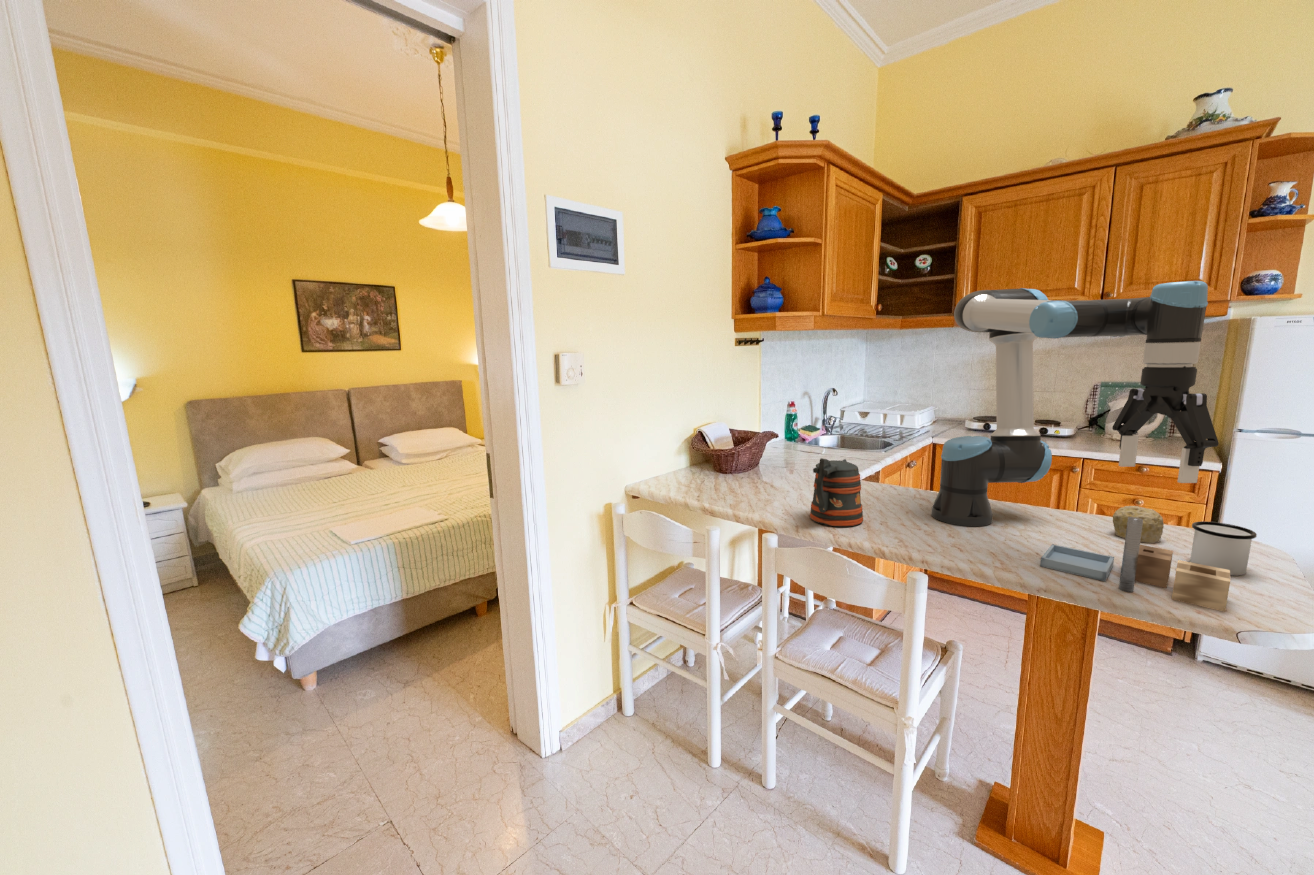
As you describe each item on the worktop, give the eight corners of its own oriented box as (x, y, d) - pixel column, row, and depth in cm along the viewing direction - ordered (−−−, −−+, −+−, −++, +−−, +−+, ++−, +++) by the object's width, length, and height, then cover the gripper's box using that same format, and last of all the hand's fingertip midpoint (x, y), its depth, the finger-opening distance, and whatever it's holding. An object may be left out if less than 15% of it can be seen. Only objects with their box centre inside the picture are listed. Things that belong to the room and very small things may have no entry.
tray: (1040, 566, 116) (1040, 557, 115) (1051, 552, 123) (1052, 544, 123) (1105, 581, 107) (1106, 572, 107) (1113, 565, 115) (1114, 557, 115)
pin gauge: (1118, 590, 104) (1127, 518, 101) (1119, 586, 105) (1128, 516, 103) (1132, 593, 102) (1142, 521, 100) (1134, 589, 104) (1143, 518, 101)
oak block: (1171, 599, 100) (1176, 570, 99) (1173, 587, 104) (1178, 559, 103) (1224, 612, 95) (1230, 581, 94) (1224, 599, 99) (1229, 570, 98)
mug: (1257, 581, 106) (1264, 539, 104) (1192, 571, 111) (1198, 531, 109) (1236, 560, 115) (1243, 522, 114) (1178, 552, 121) (1183, 515, 119)
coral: (1170, 540, 128) (1175, 511, 126) (1144, 545, 125) (1149, 516, 124) (1128, 528, 136) (1131, 501, 135) (1103, 533, 134) (1106, 505, 133)
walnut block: (1120, 578, 109) (1123, 551, 108) (1124, 568, 114) (1128, 542, 113) (1166, 588, 104) (1170, 560, 103) (1169, 577, 109) (1173, 550, 108)
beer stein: (848, 536, 137) (850, 463, 133) (795, 526, 146) (797, 457, 142) (869, 517, 152) (872, 450, 148) (820, 509, 160) (822, 446, 157)
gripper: (1261, 367, 86) (1241, 490, 89) (1135, 363, 110) (1123, 460, 114) (1212, 368, 86) (1194, 490, 90) (1098, 364, 111) (1087, 460, 114)
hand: (1154, 474), depth 102 cm, fingers open, 13 cm apart
